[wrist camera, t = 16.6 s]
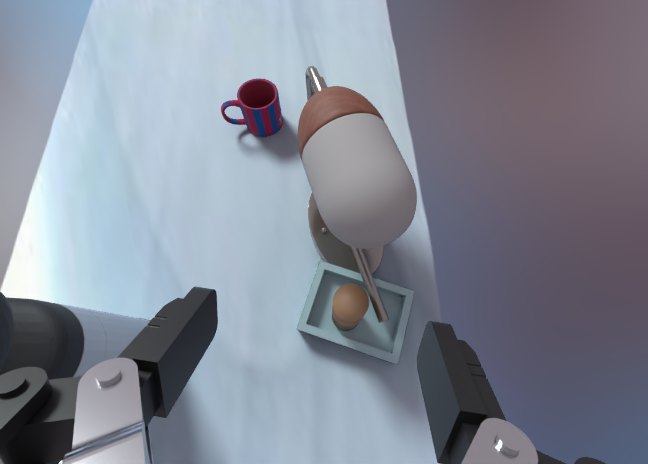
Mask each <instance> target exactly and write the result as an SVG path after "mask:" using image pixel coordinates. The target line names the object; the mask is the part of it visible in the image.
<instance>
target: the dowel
mask: <svg viewBox="0 0 648 464" xmlns="http://www.w3.org/2000/svg"><path fill="white" fill-rule="evenodd" d="M368 307H369V298H368V295H367V293H366V292H365V290H364V289H363V288H362V287H360V286H358V285H356V284H345V285H343V286H341V287H339V288H338V289H337V291H336V292H335V294H334V297H333V305H332V320H333V323H334V325H335V326H336V327H337V328H339V329H340V330H343V331H349V330H352V329H354V328H355V327H356V326H357V325H358V323H359V322H360V321H361V319H362V318H363V316H364V315H365V314H366V312H367V310H368Z"/></svg>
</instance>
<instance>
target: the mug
mask: <svg viewBox="0 0 648 464" xmlns="http://www.w3.org/2000/svg"><path fill="white" fill-rule="evenodd" d="M237 98H238V100H232V101H227V102H225V103H223V105H222V107H221V112H222V115H223V117H224V119H225V120H226V121H227V122H229V123H232V124H237V125H245V124H246V125H247V128H248V129H249V131H250V132H251V133H253V134H255V135H257V136H269V135H272V134H274V133H276V132H277V131H278V130H279V129H280V128H281V126H282V122H283V119H282V114H281V108H280V102H279V96H278V91H277V88H276V86H275V85H274V84H273V83H272V82H270V81H268V80H265V79H252V80H249V81H247V82H245V83H244V84H243V85H242V86H241V87H240V88H239V90H238V93H237ZM229 106H237V107H240V108H241V111H242V114H243V116H244V119H231V118H229V117H227V116H226V114H225V112H224V111H225V109H226V108H227V107H229Z"/></svg>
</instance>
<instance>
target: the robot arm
mask: <svg viewBox="0 0 648 464" xmlns="http://www.w3.org/2000/svg"><path fill="white" fill-rule="evenodd" d="M217 324H218V317H217V295H216V291H215V290H214V289H207V288H201V287H193V288H192V289H191V291H190V292H189V293H188V294H187V295H186V296H185V298H184V299H181V298H177V299H175V300H173V301H172V302H170V303H168V304H166V305H165V306H164V307H163V308H162V309H161V310H160V311H159V312H158V313H157V314H156V315H155V318H153V319H152V320H151V321H150V320H146V319H141V318H134V317H128V316H123V315H117V314H112V313H106V312H100V311H95V310H89V309H83V308H78V307H72V306H67V305H61V304H55V303H50V302H44V301H38V300H32V299H21V298H6V297H5V296H4V295H3V294H2V293H1V292H0V464H58V463H59V462H60V461H61V460H63V464H153V456H152V447H151V438H150V429H149V422H150V421H151V419H152V417H153V416H158V417H164V418H166V417H167V416H168V414H169V412H170V411H171V409H172V407H173V406H174V404H175V402H176V401H177V399H178V397H179V395H180V394H181V392H182V390H183V389H184V387H185V385H186V384H187V382H188V380H189V379H190V377H191V375H192V373H193V372H194V370H195V368H196V367H197V365H198V363H199V362H200V360H201V358H202V357H203V355H204V353H205V352H206V350H207V348H208V346H209V345H210V343H211V341H212V340H213V338H214V336H215V333H216V330H217ZM417 369H418V374H419V379H420V384H421V388H422V393H423V397H424V402H425V407H426V411H427V416H428V421H429V425H430V430H431V435H432V439H433V444H434V448H435V453H436V458H437V462H438V463H440V464H565V463H563V462H561V461H559V460H556V459H554V458H552V457H550V456H548V455H545V454H543V453H541V452H539V451H537V450H535V447H534V446H533V444H532V442H531V441H530V440H529V438H528V437H527V436H526V435H525V434H524V433H523V432H522V431H521V430H519V429H518V428H517V427H515V426H514V425H512V424H511V423H509V422H507V421H506V419H505V417H504V415H503V412H502V410H501V408H500V406H499V404H498V401H497V399H496V397H495V395H494V393H493V390H492V388H491V386H490V384H489V382H488V379H486V375H485V373H484V371H483V368H481V364H480V362H479V360H478V357H477V355H476V353H475V352H474V351H473V350H472V348H471V347H470V346H469V345H468V344H467V343H466V342H465V341H462V340H457V338H456V336H455V333H454V331H453V328H452V326H451V325H450V324H445V323H439V322H432V321H429V322H428V323H427V325H426V328H425V331H424V334H423V338H422V341H421V344H420V347H419V351H418V355H417ZM574 464H605V463H603V462H601V461H599V460H596V459H593V458H588V457H583V458H579V459H578V460H577V461H576V462H575V463H574Z"/></svg>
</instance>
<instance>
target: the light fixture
mask: <svg viewBox="0 0 648 464" xmlns="http://www.w3.org/2000/svg"><path fill="white" fill-rule="evenodd" d="M306 86H307V98H308V101H307V103H306V105H305V106H304V108H303V110H302V113H301V116H300V120H299V126H298V144H299V151H300V156H301V159H302V162H303V166H304V169H305V172H306V175H307V178H308V181H309V183H310V186H311V189H312V194H311V197H310V201H309V207H308V218H309V227H310V233H311V237H312V240H313V243H314V245H315V248H316V250H317V252H318V253H319V255H320V257H321V259H322V260H323V261H324V262H326V263H329V264H332V265H335V266H339V267H342V268H345V269H348V270H351V271H354V272H357V273H360V274H361V276H362V279H363V282H364V285H365V287H366V290H367V293H368V295H369V298H370V301H371V303H372V306H373V309H374V311H375V314H376V317H377V319H378V322H379V323H382V322H385V321H387V320H389V317H388V315H387V312H386V310H385V307H384V304H383V302H382V299H381V297H380V294H379V291H378V289H377V286H376V284H375V281H374V278H373V276H372V275H373V274H374V273H375V271H376V269H377V268H378V266H379V264H380V262H381V260H382V256H383V250H384V245H387V244H389V243H391V242H393V241H394V240H396V239H397V238H399V237H400V236H401V235H402V234H403V233H404V232H405V231H406V230H407V229H408V227H409V226H410V224H411V222H412V220H413V218H414V215H415V210H416V203H417V193H416V187H415V183H414V180H413V178H412V175H411V173H410V171H409V169H408V167H407V165H406V163H405V161H404V159H403V157H402V155H401V153H400V151H399V149H398V147H397V145H396V143H395V141H394V139H393V137H392V135H391V133H390V131H389V129H388V127H387V125H386V124H385V122H384V120H383V118H382V116H381V115H380V113H379V112H378V111H377V109H376V108H375V107H374V106H373V105H372V104H371V103H370V102H369V101H368V100H367V99H366V98H365V97H364V96H362V95H361V94H359V93H357V92H355V91H353V90H351V89H348V88H345V87H340V86H333V87H328V88H327V85H326V83H325V81H324V79H323V78H322V77H320V76H319V73H318V71H317V69H316V68H315V67H314V66H309V67H308V68H307V70H306Z"/></svg>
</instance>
